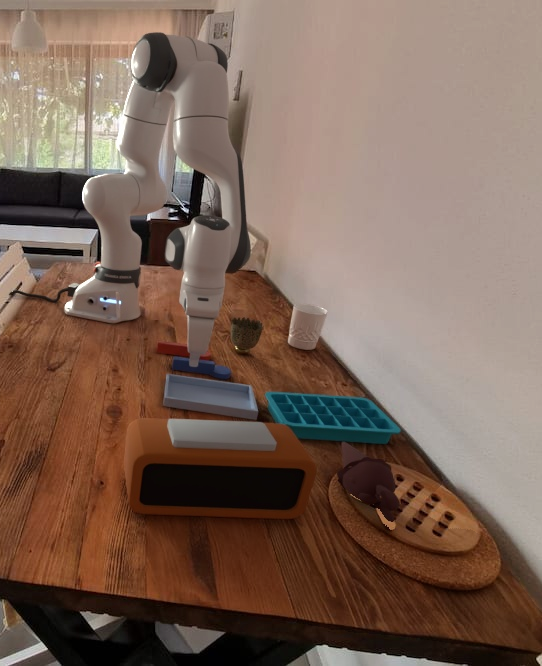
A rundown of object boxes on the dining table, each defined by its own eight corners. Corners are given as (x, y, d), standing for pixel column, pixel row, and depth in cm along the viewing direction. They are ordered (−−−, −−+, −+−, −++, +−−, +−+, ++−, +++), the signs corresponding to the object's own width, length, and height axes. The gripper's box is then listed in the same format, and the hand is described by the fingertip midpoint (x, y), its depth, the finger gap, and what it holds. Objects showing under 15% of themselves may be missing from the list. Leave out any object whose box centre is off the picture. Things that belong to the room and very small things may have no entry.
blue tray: (163, 406, 88) (164, 397, 87) (165, 381, 97) (166, 373, 96) (256, 420, 84) (258, 411, 84) (250, 393, 94) (251, 385, 93)
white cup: (316, 341, 121) (325, 306, 117) (319, 353, 114) (329, 316, 110) (284, 336, 123) (292, 301, 120) (286, 347, 116) (294, 311, 113)
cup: (259, 360, 109) (266, 329, 105) (227, 356, 110) (233, 326, 107) (255, 348, 115) (261, 318, 112) (225, 344, 117) (230, 315, 113)
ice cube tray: (399, 447, 78) (404, 433, 77) (280, 439, 79) (284, 425, 78) (364, 411, 89) (368, 397, 88) (260, 404, 90) (263, 391, 89)
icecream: (318, 428, 71) (364, 503, 58) (369, 422, 70) (427, 497, 57) (318, 461, 75) (361, 540, 61) (366, 455, 73) (421, 535, 60)
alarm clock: (127, 515, 61) (134, 445, 57) (122, 473, 69) (128, 409, 65) (303, 521, 62) (324, 452, 57) (279, 479, 69) (295, 415, 65)
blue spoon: (171, 372, 101) (173, 361, 100) (172, 363, 105) (173, 353, 104) (231, 380, 99) (233, 369, 98) (229, 371, 103) (231, 361, 102)
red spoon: (156, 355, 109) (157, 345, 108) (157, 347, 113) (158, 338, 112) (210, 362, 107) (212, 352, 106) (209, 354, 111) (211, 344, 110)
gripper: (185, 282, 105) (178, 337, 111) (186, 309, 87) (177, 374, 92) (213, 284, 104) (205, 340, 110) (220, 313, 86) (209, 378, 91)
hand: (192, 356), depth 101 cm, fingers open, 8 cm apart
